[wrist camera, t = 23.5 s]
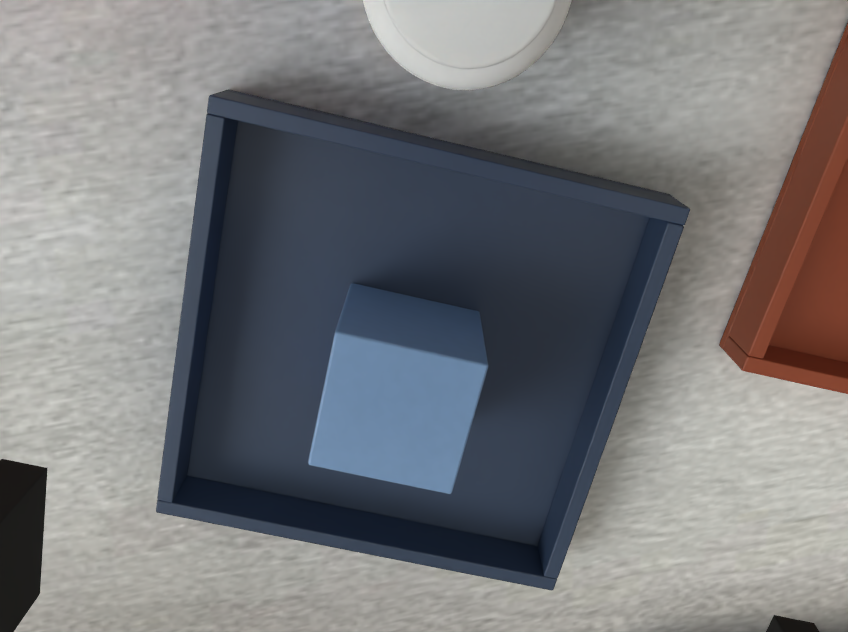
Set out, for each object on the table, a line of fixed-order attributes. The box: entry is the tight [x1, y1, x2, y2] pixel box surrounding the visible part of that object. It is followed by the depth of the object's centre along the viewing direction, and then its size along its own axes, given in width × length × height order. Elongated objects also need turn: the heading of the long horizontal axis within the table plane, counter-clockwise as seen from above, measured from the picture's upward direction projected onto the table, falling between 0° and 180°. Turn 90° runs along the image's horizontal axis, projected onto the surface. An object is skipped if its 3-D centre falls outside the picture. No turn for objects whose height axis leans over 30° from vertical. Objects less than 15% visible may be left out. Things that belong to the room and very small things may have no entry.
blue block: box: [308, 283, 488, 494], centre depth 27 cm, size 5×5×5 cm
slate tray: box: [156, 90, 690, 590], centre depth 29 cm, size 16×16×2 cm
